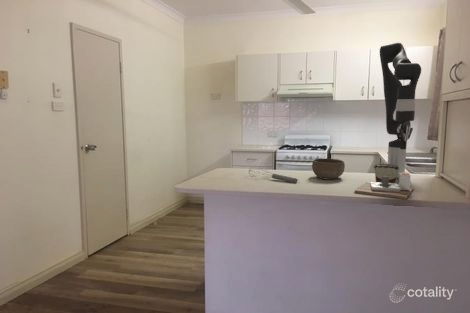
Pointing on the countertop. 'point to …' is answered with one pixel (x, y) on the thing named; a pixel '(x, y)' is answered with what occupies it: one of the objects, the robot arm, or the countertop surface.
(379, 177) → the food container
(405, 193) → the post board
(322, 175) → the bowl
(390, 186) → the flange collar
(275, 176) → the kitchen whisk
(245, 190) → the countertop surface
